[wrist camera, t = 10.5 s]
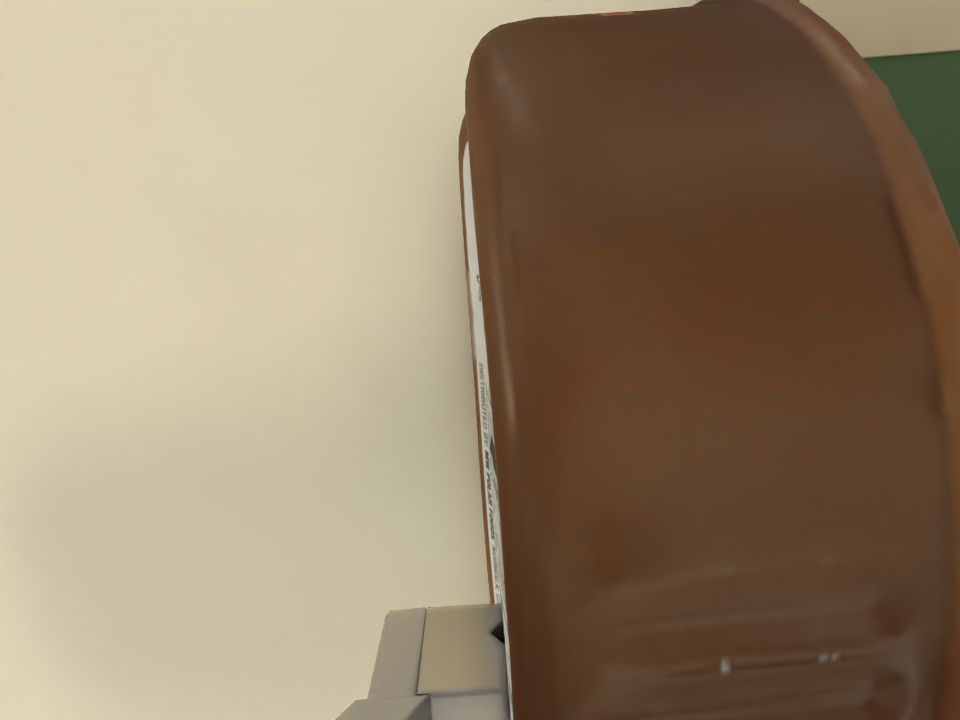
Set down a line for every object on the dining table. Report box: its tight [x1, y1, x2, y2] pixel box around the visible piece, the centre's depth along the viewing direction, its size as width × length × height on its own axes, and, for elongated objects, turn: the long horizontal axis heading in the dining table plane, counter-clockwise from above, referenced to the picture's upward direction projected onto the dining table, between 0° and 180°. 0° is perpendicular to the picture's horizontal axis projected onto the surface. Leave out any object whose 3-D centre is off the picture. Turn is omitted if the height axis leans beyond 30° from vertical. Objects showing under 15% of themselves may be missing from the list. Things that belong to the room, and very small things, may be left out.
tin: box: [459, 0, 960, 720], centre depth 8 cm, size 15×3×8 cm, turn 4°
